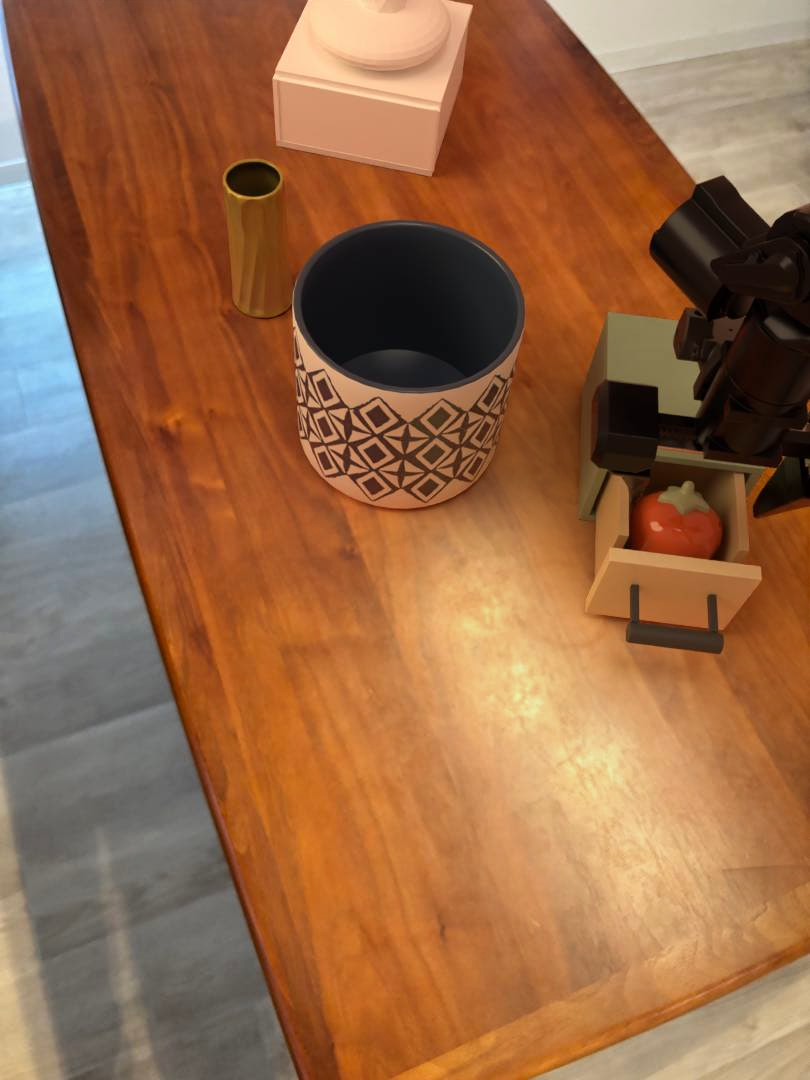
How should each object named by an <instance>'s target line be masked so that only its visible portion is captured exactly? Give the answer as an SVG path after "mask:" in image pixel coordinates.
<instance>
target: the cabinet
mask: <svg viewBox="0 0 810 1080" xmlns="http://www.w3.org/2000/svg"><path fill="white" fill-rule="evenodd" d="M678 322H679V320H678V319H677V320H676V319H668V318H661V317H653V316H652V317H651V316H644V315H637V314H628V313H621V312H613V311H608V312H607V313H606V316H605V319H604V323H603V325H602V328H601V332H600V335H599V338H598V341H597V344H596V347H595V349H594V353H593V355H592V358H591V361H590V365H589V368H588V371H587V373H586V377H585V380H584V382H583V386H582V389H581V410H580V411H581V413H580V416H581V419H580V446H579V448H580V449H579V482H578V514H577V517H578V520H581V521H589V522H596V497H597V495H598V493H599V490H600V488H601V485H602V483H603V480H604V478H605V476H606V473H607V471H608V470H607V469H601V468H598V467H597V466H596V465H595V464H594V463H593V462H592V461H591V460H590V452H591V411H592V399H593V396H594V393H595V391H596V388H597V386H598V385H599V384H601V383H602V382H603V381H604V380H605V379H609V380H616V381H624V382H632V383H640V384H648V385H655V386H657V387H658V407H659V413H666V414H673V415H681V416H689V417H695V415H696V413H697V411H698V409H699V407H700V405H701V401H698V400H694V397H693V385H694V383H695V381H696V379H697V377H698V375H699V373H700V369H699V366H698V362H692V361H684V360H678V359H677V358H676V355H675V351H674V347H673V339H674V334H675V331H676V328H677V324H678ZM655 461H659V462H667V463H675V464H683V465H690V466H698V467H706V468H714V469H722V470H730V471H738V472H744V481H745V495H746V499H747V498H748V497H749V496H750V494H751V492H752V491H753V489H754V488H755V486H756V485H757V483H758V482H759V480H760V479H761V477H762V475H763V474H764V473H765V471H766V467H762V466H754V465H746V464H738V463H730V462H723V461H715V460H707V459H703V455H701V454H693V453H685V452H677V451H669V450H662V449H657V453H656V458H655Z"/></svg>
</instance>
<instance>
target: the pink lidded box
mask: <svg viewBox="0 0 810 1080" xmlns="http://www.w3.org/2000/svg"><path fill="white" fill-rule="evenodd" d="M473 5H474V4H470V3H464V2H458V1H453V0H307V2H306V4H305V6H304V8H303V11H302V12H301V15H300V17H299V19H298V21H297V23H296V25H295V27H294V29H293V31H292V32H291V33H292V34H291V36H290V38H289V40H288V42H287V44H286V45H285V48H284V50H283V53H282V55H281V56H280V58H279V60H278V63H277V64H276V67H275V69H274V70H275V71H274V72H275V73H274V74H273V77H272V78H271V81H272V97H273V113H274V128H275V131H274V132H275V142H276V143H275V145H276V146H277V147H281V148H287V149H290V150H291V149H292V150H295V151H301V152H307V153H310V154H317V155H321V156H326V157H331V158H336V159H341V160H347V161H352V162H355V163H360V164H365V165H369V166H370V165H371V166H375V167H381V168H386V169H391V170H396V171H399V172H400V171H401V172H406V173H412V174H416V175H421V176H425V177H431V178H432V177H433V173H434V172H435V169H436V168H435V167H436V164H437V160H438V158H439V154H440V151H441V148H442V144H443V141H444V138H445V134H446V132H447V128H448V125H449V122H450V118H451V115H452V113H453V110H454V106H455V103H456V99H457V97H458V93H459V90H460V87H461V85H462V81H463V73H464V64H465V58H466V57H465V56H466V48H467V40H468V33H469V23H470V19H471V16H472V13H473V7H474V6H473Z"/></svg>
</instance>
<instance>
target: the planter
mask: <svg viewBox="0 0 810 1080" xmlns="http://www.w3.org/2000/svg"><path fill="white" fill-rule="evenodd" d="M293 287H294V291H293V303H292V305H291V306H292V333H293V335H292V336H293V353H294V356H293V357H294V374H295V375H294V377H295V392H296V411H297V412H296V413H297V427H298V432H299V433H298V434H299V440H300V443H301V446H302V449H303V452H304V454H305V456H306V458H307V460H308V461H309V464H311V466H312V468H314V470H315V471H316V472H317V474H319V476H320V477H321V478H322V479H323V480H325V482H327V483H328V484H329V485H330V486H331V487H333V488H334V489H336V490H337V491H339V492H340V493H342V494H344V495H346V496H347V497H350V498H352V499H354V500H356V501H359V502H362V503H364V504H369V505H371V506H375V507H381V508H389V509H416V508H417V509H418V508H425V507H428V506H432V505H436V504H440V503H443V502H445V501H447V500H450V499H452V498H454V497H455V496H457V495H459V494H461V493H462V492H464V491H466V490H467V489H468V488H470V487H471V486H472V485H473V484H474V483H476V482H477V481H478V480H479V479H480V477H481V476H482V475H483V474H484V472H485V471H486V470H487V468H488V467H489V465H490V463H491V461H492V460H493V457H494V455H495V452H496V449H497V446H498V441H499V438H500V434H501V430H502V425H503V421H504V418H505V413H506V409H507V405H508V401H509V398H510V397H509V396H510V392H511V388H512V385H513V379H514V375H515V371H516V367H517V362H518V358H519V354H520V350H521V345H522V342H523V341H522V340H523V338H524V337H523V336H524V331H525V328H526V327H525V326H526V317H527V310H526V299H525V296H524V293H523V289H522V286H521V284H520V282H519V280H518V279H517V277H516V274H515V273H514V271H513V270H512V269H511V268H510V266H509V265H508V264H507V262H506V261H505V260H504V259H503V258H502V257H501V256H500V255H499V254H498V253H497V252H496V251H495V250H494V249H492V248H491V247H490V246H488V245H487V244H485V243H484V242H483V241H481V240H479V239H477V238H475V237H474V236H472V235H471V234H468V233H467V232H464V231H461V230H459V229H456V228H453V227H451V226H447V225H444V224H440V223H436V222H432V221H425V220H417V219H390V220H380V221H376V222H369V223H366V224H365V223H364V224H362V225H359V226H356V227H352V228H349V229H348V230H345V231H343V232H341V233H339V234H337V235H335V236H334V237H332V238H330V239H329V240H327V241H326V242H325V243H323V244H322V245H321V246H320V247H319V248H318V249H316V251H314V252H313V253H312V254H311V256H310V257H309V258H308V259H307V261H306V262H305V263H304V264H303V266H302V268H301V269H300V272H299V274H298V276H297V277H296V280H295V284H294V286H293Z"/></svg>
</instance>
